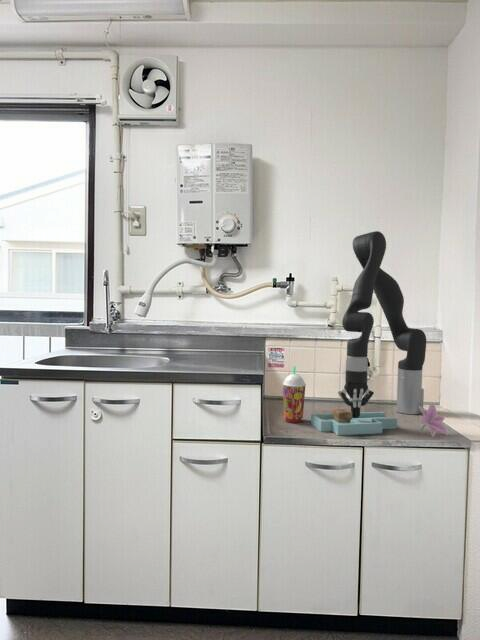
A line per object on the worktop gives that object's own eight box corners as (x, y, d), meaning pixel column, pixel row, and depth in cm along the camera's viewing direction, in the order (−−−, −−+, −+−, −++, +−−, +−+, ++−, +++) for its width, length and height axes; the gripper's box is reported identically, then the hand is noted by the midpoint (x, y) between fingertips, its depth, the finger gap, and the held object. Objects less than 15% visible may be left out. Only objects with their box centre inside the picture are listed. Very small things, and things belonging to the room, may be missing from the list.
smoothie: (278, 419, 193) (279, 365, 192) (298, 417, 196) (299, 364, 195) (287, 424, 185) (289, 368, 184) (308, 423, 188) (310, 367, 187)
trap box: (383, 421, 193) (383, 411, 192) (404, 432, 178) (404, 422, 178) (310, 424, 187) (311, 414, 187) (326, 435, 172) (326, 425, 172)
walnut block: (346, 418, 187) (346, 408, 187) (351, 422, 182) (352, 412, 182) (333, 419, 186) (333, 409, 186) (338, 422, 182) (338, 412, 181)
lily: (412, 439, 174) (426, 417, 170) (403, 417, 184) (416, 396, 180) (444, 449, 175) (459, 428, 171) (433, 427, 186) (447, 406, 182)
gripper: (369, 366, 189) (367, 414, 190) (334, 367, 186) (333, 415, 187) (379, 370, 181) (377, 419, 182) (343, 370, 178) (341, 421, 180)
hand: (355, 417), depth 185 cm, fingers closed
